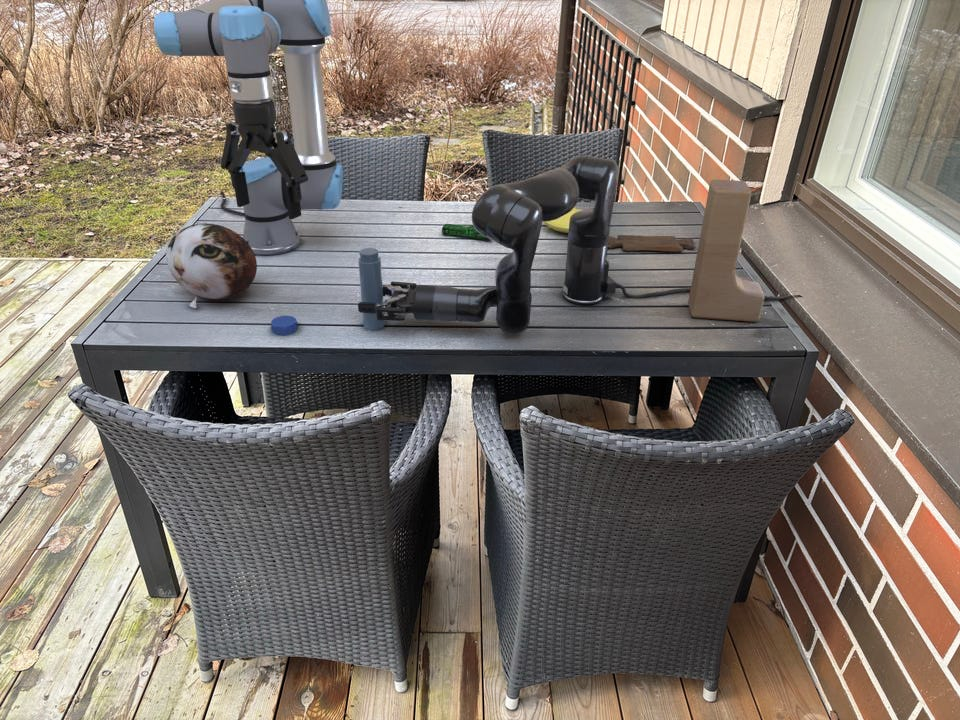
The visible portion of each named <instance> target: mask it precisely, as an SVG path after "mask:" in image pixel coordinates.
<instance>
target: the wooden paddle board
mask: <svg viewBox="0 0 960 720" xmlns="http://www.w3.org/2000/svg"><path fill="white" fill-rule="evenodd" d="M619 247H621V249H622V251H624V252H634V251H655V252H656V251H657V252H678V253H679V252H682V251H683V250H684V249H687V250H694V249H695V242H694V239H693V238H692V237H687V238H680V239H676V235H634V234H633V235H632V234H618V235H617V237H614V236H611V235H609V240H608V249H615V248H619Z"/></svg>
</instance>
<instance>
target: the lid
mask: <svg viewBox="0 0 960 720" xmlns="http://www.w3.org/2000/svg"><path fill="white" fill-rule="evenodd" d="M270 327H271V332H272V333H273V334H274V335H277V336H289V335H293V334H294V333H296V332H297V331H298V329H299V326H298V320H297V318H296V316H295V317H294V316H292V315H279V316H276V317H274V318H273V319H272V320H271V321H270Z"/></svg>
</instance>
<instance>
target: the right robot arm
mask: <svg viewBox="0 0 960 720" xmlns="http://www.w3.org/2000/svg"><path fill="white" fill-rule="evenodd" d="M618 180H619V166H618V164H617V162H616V161H615V160H613V159H609V158H603V157H595V156H589V155H578V156H574V157H573V158H571V159H570V160H568V161H567V162H565V163H564V164H563V165H561V166H558V167H556V168H553V169H549V170H547V171H544V172H541V173H539V174H537V175H535V176H532V177H529V178H526V179H523V180H519V181H514V182H507V183H500V184H495V185H493V186H491V187H489V188H488V189H487V190H485V191H484V192H482V194H481V195H480V196H479V197H478V198H477V200H476V202H475V204H474V206H473V208H472V210H471V222H472V225H473V226H474V228H475V229H476V230H477V231H478V232H479V233H480V234H482V235H483V236H485V237H486V238H489V239H490V240H491V241H492V242H495V243H497V244H498V245H500V246H502V247H505V248H506V249H510V250H512V252H510V253H508V254H506V255H505V256H503V257H502V258H501V259H500V261H498V263H497V266H496V268H495V271H494V272H495V273H494V281H495V286H491V287H486V288H485V287H484V288H479V289H475V288H473V289H472V288H459V287H453V286H446V285H444V286H443V285H430V284H429V285H427V284H417V283H415V282H404V281H393V280H392V281H390V284H386V285H382V286H383V297H387V298H386V299H385V300H383V302H381V303H370V302H362V301H359V302H358V303H357V312H359V313H361V314H363V313H373V314H376V316H377V320H385V321H392V322H404V321H405V320H406V314H407V315H408V314H412V315H413V318H414V319H415V320H418V321H429V322H430V321H433V322H445V323H448V322H461V323H462V322H463V323H482V322H483V321H484V320H485V318H486V316H487V313H488V311H489V309H491V308H492V307H495V306H496V310H495V311H496V312H495V313H496V314H495V315H496V316H495V321H496V325H497V326H498V327H499V329H500V330H502V331H503V332H504V333H506V334H509V335H517V334H520V333H522V332H524V331H525V330H526V329H528V327H529V325H530V320H531V310H532V298H533V295H532V291H531V289H532V274H531V273H532V268H533V267H532V266H533V264H534V259H535V257H536V256H535V255H536V252H537V249H538V243H539V240H540V235H541V231H542V228H543V227H542V225H543V222H544V221H552V220H555V219H558V218H560V217H562V216H564V215H565V214H567V213H569V212H570V211H571V210H572V209H573V208H574V207H575V208H576V206H577V204H578V202H579V199H580V200H586V201H592V202H595V203H594V207H592V208H588V209H581V210H582V211H578V212H576V213H574V214H572V215H571V217H570V221H569V233H567V245H566V246H567V248H566V259H565V274H564V281H563V282H562V290H563V291H562V297H563V299H564V300H565V301H567V302H569V303H571V304H574V305H579V306H592V305H597V304H598V303H600V302H601V301H604V300H606V296H607V295H611V294H616V292H617V291H616V290H617V288H618V289H620V290H621V291H622V294H623V296H624V297H627V298H629V299H646V298H650V297H657V296H665V295H671V294H675V293H688V292H689V293H690V290H691V287H683V288H674V289H668V290H663V291H655V292H649V293H644V294H638V295H635V294H630V293H628V292H627V289H626V288H625V287H624V285H622V284H621V283H617V282H616V280H614V279H613V278H612V277H611V276H610V275H609V271H610V262H609V261H608V260H607V258H608V257H607V256H608V249H609V248H608V240H609V236H610V229H611V223H612V218H613V211H614V204H615V197H616V191H617V186H618ZM544 223H545V222H544ZM787 294H788V293H785V294H783V295H779V296H771V295H769V296H770V297H767V296H768V295H764V297H765V298H764V300H765V301H766V300H767V301H781V300H785V299H787V298H790V296H788V295H787ZM382 315H384V316H382Z"/></svg>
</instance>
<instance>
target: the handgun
mask: <svg viewBox="0 0 960 720" xmlns="http://www.w3.org/2000/svg"><path fill="white" fill-rule="evenodd" d="M441 235H446V236H454V237H462V238H469V239H470V238H471V239H474V240H479V241H484V242H491V241H492V240H490V239H489V238H486V237H485V236H483V235H482V234H480V233H479V232H478V231H477V230H476V229H475V228H474V226H473V224H472V225H459V224H453V223H445V224H443V226H442V227H441Z"/></svg>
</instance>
